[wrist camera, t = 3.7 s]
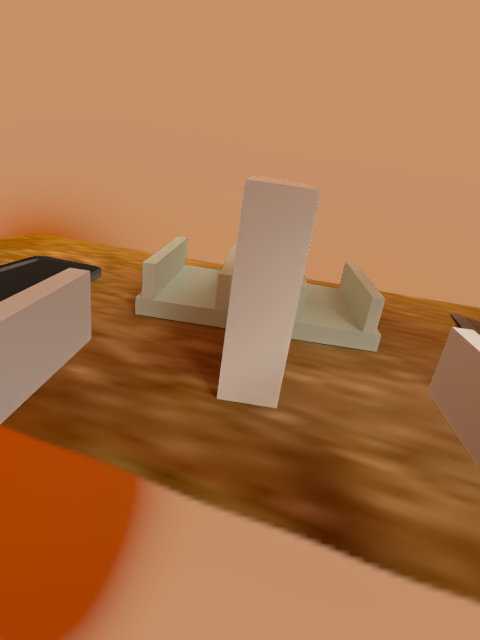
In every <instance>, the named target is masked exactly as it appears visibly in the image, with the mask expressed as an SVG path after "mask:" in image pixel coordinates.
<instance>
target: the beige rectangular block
mask: <svg viewBox="0 0 480 640" xmlns="http://www.w3.org/2000/svg"><path fill="white" fill-rule="evenodd" d="M320 195H321V190H320V189H318V188H315V187H313V186H311V185H309V184H307V183H300V182H293V181H287V180H280V179H273V178H265V177H259V176H252V177H250V178H247V179H246V180H245V187H244V194H243V201H242V209H241V217H240V224H239V232H238V240H237V247H236V255H235V262H234V270H233V278H232V285H231V293H230V300H229V308H228V316H227V323H226V331H225V339H224V346H223V354H222V361H221V369H220V377H219V384H218V392H217V399H221V400H228V401H234V402H240V403H246V404H252V405H259V406H265V407H271V408H277V404H278V399H279V394H280V390H281V385H282V380H283V375H284V370H285V365H286V360H287V355H288V351H289V346H290V341H291V336H292V331H293V326H294V321H295V316H296V312H297V307H298V302H299V297H300V292H301V287H302V282H303V277H304V273H305V268H306V263H307V258H308V253H309V248H310V243H311V238H312V233H313V229H314V224H315V219H316V214H317V209H318V204H319V199H320Z"/></svg>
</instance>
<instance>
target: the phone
mask: <svg viewBox="0 0 480 640" xmlns="http://www.w3.org/2000/svg"><path fill="white" fill-rule="evenodd" d="M68 268H75V269H81V270H88V271H90V282H91V281H93V280H96V279H98V278H100V277H101V268H100V267H97V266H93V265H88V264H82V263H77V262H72V261H67V260H62V259H57V258H52V257H47V256H34V257H29V258H26V259H22V260H19V261H15V262H11V263H8V264H4V265H1V266H0V302H1V301H3V300H5V299H7V298H9V297H11V296H13V295H15V294H17V293H19V292H21V291H23V290H25V289H27V288H29V287H31V286H33V285H36V284H38V283H40V282H42V281H44V280H46V279H48V278H50V277H52V276H54V275H56V274H58V273H60V272H62V271H64V270H66V269H68Z"/></svg>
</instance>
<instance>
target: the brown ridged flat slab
mask: <svg viewBox="0 0 480 640" xmlns="http://www.w3.org/2000/svg"><path fill="white" fill-rule="evenodd" d="M451 315H452V317H453V318H454V319H455V320H456V321H457V322H458V324H459V325H460V326H461V327H462V328H464V329H470V330H474V331H475V332H477V333H478V334H479V335H480V322H478V321H476V320H473V319H469V318H465V317H462V316H460V315H456V314H451Z"/></svg>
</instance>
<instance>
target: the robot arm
mask: <svg viewBox="0 0 480 640" xmlns="http://www.w3.org/2000/svg"><path fill="white" fill-rule="evenodd" d="M90 340H91V284H90V271H88V270H81V269H75V268H68V269H66V270H64V271H62V272H60V273H58V274H56V275H54V276H52V277H50V278H48V279H46V280H44V281H42V282H40V283H38V284H36V285H33V286H31V287H29V288H27V289H25V290H23V291H21V292H19V293H17V294H15V295H13V296H11V297H9V298H7V299H5V300H3V301H1V302H0V424H1V423H2V422H3V421H5V420H6V419H7V418H8V417H9V416H10V415H11V414H12V413H13V412H14V411H15V410H16V409H17V408H18V407H19V406H20V405H22V404H23V403H24V402H25V401H26V400H27V399H28V398H29V397H30V396H31V395H32V394H33V393H34V392H35V391H36V390H38V389H39V388H40V387H41V386H42V385H43V384H44V383H45V382H46V381H47V380H48V379H49V378H50V377H51V376H52V375H53V374H55V373H56V372H57V371H58V370H59V369H60V368H61V367H62V366H63V365H64V364H65V363H66V362H67V361H68V360H69V359H71V358H72V357H73V356H74V355H75V354H76V353H77V352H78V351H79V350H80V349H81V348H82V347H83V346H84V345H85V344H86V343H88V342H89V341H90ZM427 393H428V394H429V396H430V397H431V399H432V400H433V402H434V403H435V405H436V406H437V408H438V409H439V411H440V412H441V413H442V415H443V416H444V418H445V419H446V421H447V422H448V424H449V425H450V427H451V428H452V430H453V431H454V433H455V434H456V435H457V437H458V438H459V440H460V441H461V443H462V444H463V446H464V447H465V449H466V450H467V452H468V453H469V455H470V456H471V457H472V459H473V460H474V462H475V463H476V465H477V466H478V468H479V469H480V335H479V334H478V333H477V332H475V331H474V330H470V329H464V328H457V327H452V328H451V330H450V333H449V335H448V338H447V341H446V343H445V346H444V349H443V351H442V354H441V357H440V359H439V362H438V365H437V367H436V370H435V372H434V375H433V378H432V380H431V383H430V386H429V388H428V391H427Z"/></svg>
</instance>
